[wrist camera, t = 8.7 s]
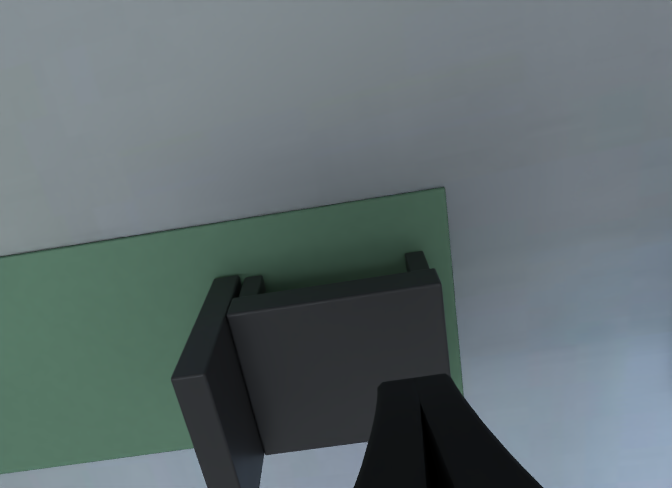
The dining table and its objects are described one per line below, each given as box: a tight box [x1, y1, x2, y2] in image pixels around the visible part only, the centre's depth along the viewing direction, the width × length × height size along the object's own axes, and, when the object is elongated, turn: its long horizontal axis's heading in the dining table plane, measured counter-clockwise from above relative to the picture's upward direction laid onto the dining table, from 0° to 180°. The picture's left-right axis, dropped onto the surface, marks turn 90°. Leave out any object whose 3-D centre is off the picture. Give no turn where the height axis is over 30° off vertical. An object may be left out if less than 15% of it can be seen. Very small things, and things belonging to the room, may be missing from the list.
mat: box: [0, 187, 464, 474], centre depth 22 cm, size 35×10×1 cm, turn 99°
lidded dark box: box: [171, 251, 451, 488], centre depth 19 cm, size 8×6×6 cm
